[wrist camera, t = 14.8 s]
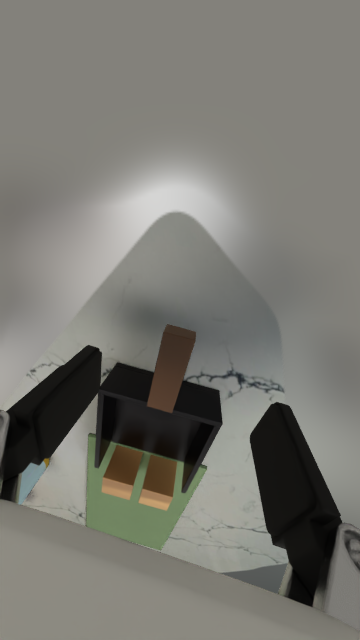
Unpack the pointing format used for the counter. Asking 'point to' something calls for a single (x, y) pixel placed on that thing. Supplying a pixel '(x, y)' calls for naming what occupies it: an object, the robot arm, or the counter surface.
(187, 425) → the pan
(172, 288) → the counter surface
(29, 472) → the bottle
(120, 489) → the block
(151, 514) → the mat
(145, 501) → the block
